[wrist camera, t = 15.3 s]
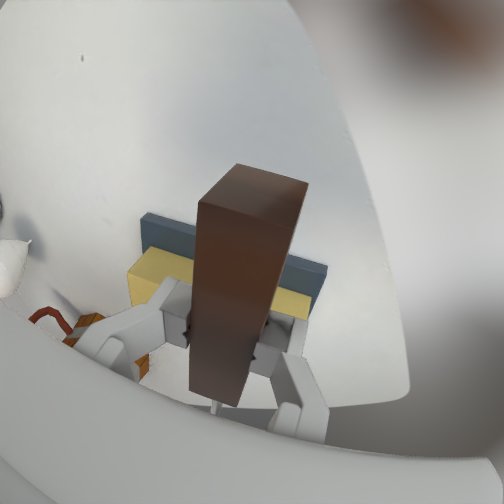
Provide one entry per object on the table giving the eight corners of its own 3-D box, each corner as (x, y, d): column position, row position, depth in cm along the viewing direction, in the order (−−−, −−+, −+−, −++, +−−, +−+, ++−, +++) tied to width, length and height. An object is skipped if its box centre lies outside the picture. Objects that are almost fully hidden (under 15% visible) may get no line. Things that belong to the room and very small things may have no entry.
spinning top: (46, 231, 32) (-19, 289, 23) (50, 271, 37) (-2, 326, 27) (13, 207, 32) (-48, 256, 22) (19, 247, 37) (-32, 294, 27)
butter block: (150, 245, 26) (126, 272, 23) (223, 269, 25) (205, 301, 22) (153, 285, 29) (132, 313, 26) (218, 309, 28) (202, 340, 25)
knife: (236, 162, 10) (197, 200, 7) (309, 182, 9) (294, 230, 7) (202, 416, 22) (189, 446, 20) (230, 426, 22) (218, 457, 20)
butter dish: (147, 212, 26) (140, 218, 25) (327, 266, 24) (326, 275, 23) (152, 292, 32) (146, 299, 31) (295, 341, 30) (293, 350, 29)
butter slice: (265, 281, 25) (251, 316, 22) (311, 296, 24) (304, 333, 21) (253, 320, 28) (241, 353, 25) (295, 333, 27) (286, 368, 24)
